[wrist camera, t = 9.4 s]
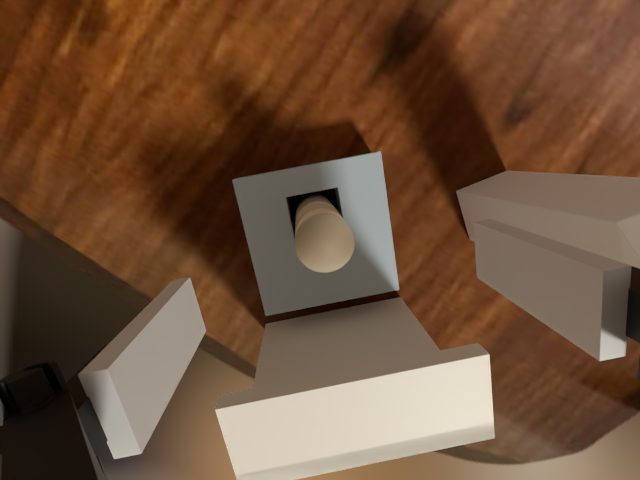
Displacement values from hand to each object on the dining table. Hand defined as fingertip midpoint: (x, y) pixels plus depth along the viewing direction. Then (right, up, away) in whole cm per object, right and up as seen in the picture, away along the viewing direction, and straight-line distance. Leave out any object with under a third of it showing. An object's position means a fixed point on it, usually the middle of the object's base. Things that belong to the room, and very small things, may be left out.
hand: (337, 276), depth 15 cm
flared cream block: (0, -5, +23) cm, 23 cm away
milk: (+18, +6, +22) cm, 29 cm away
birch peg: (-1, +5, +21) cm, 21 cm away
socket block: (-1, +3, +21) cm, 21 cm away
